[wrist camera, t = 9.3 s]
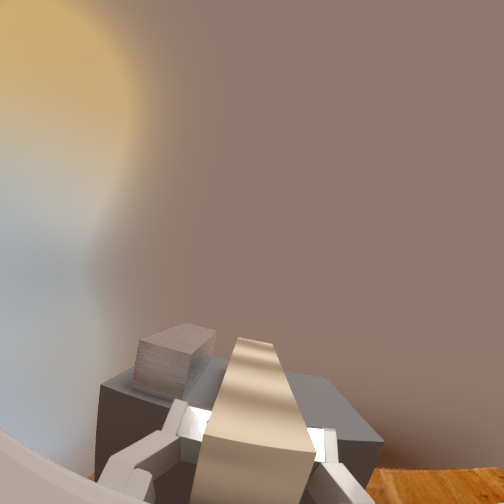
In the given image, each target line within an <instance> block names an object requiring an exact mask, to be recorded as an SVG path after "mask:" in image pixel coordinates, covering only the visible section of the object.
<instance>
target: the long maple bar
mask: <svg viewBox="0 0 504 504" xmlns="http://www.w3.org/2000/svg"><path fill="white" fill-rule="evenodd" d="M316 456H317V450H316V448H315V446H314V443H313V441H312V439H311V436H310V434H309V431H308V429H307V427H306V424H305V422H304V420H303V417H302V415H301V412H300V410H299V408H298V405H297V403H296V400H295V398H294V396H293V393H292V391H291V388H290V386H289V384H288V381H287V379H286V376H285V374H284V372H283V369H282V367H281V364H280V362H279V360H278V357H277V355H276V352H275V350H274V347H273V345H272V344H268V343H264V342H259V341H254V340H249V339H244V338H240V337H238V339H237V342H236V345H235V348H234V350H233V353H232V356H231V359H230V362H229V365H228V367H227V370H226V373H225V376H224V379H223V381H222V384H221V387H220V390H219V393H218V395H217V398H216V401H215V404H214V406H213V409H212V412H211V415H210V417H209V420H208V423H207V426H206V428H205V431H204V434H203V439H202V444H201V448H200V453H199V458H198V463H197V468H196V472H195V477H194V482H193V487H192V492H191V497H190V502H189V504H299V502H300V499H301V496H302V494H303V491H304V489H305V486H306V483H307V481H308V478H309V475H310V473H311V470H312V467H313V464H314V461H315V459H316Z"/></svg>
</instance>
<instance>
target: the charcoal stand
mask: <svg viewBox="0 0 504 504" xmlns="http://www.w3.org/2000/svg"><path fill="white" fill-rule="evenodd" d="M229 362H230V360H228V359H224V358H220V357H216V356H212V357H211V362H210V364H209V365H208V367H207V368H206V370H205V371H204V372H203V374H202V375H201V377H200V378H199V380H198V381H197V383H196V384H195V386H194V387H193V389H192V390H191V391H190V393H189V394H188V396H187V397H186V399H185V400H184V401H185V402H189V403H192V404H196V405H199V406H203V407H206V408H210V409H213V406H214V404H215V401H216V398H217V395H218V393H219V390H220V387H221V384H222V381H223V379H224V376H225V373H226V370H227V367H228V365H229ZM134 367H135V366H134ZM134 367H132V368H130V369H128V370H127V371H125V372H123V373H121V374H119V375H117V376H116V377H114V378H112V379H110V380H108V381H106V382H104V383H103V384H101V386H100V395H99V405H98V418H97V430H96V447H95V449H96V450H95V482H96V483H97V482H98V480H99V478H100V476H101V474H102V472H103V470H104V468H105V466H106V464H107V462H108V460H109V458H110V456H112V455H114V454H116V453H118V452H120V451H121V450H123V449H125V448H127V447H129V446H131V445H132V444H134V443H136V442H138V441H139V440H141V439H143V438H145V437H146V436H148V435H150V434H151V433H153V432H155V431H157V430H159V431H161V430H162V428H163V425H164V423H165V420H166V418H167V415H168V413H169V411H170V408H171V406H172V403H173V402H171V401H168V400H164V399H161V398H158V397H154V396H151V395H148V394H145V393H142V392H139V391H136V390H133V389H131V387H132V380H133V374H134ZM283 372H284V374H285V376H286V379H287V381H288V384H289V386H290V388H291V391H292V393H293V396H294V398H295V400H296V403H297V405H298V408H299V410H300V412H301V415H302V417H303V420H304V422H305V424H306V426H314V427H321V428H332V429H335V430H336V435H337V447H338V460H339V463H342V464H343V465H344V466H345V467H346V468H347V470H348V471H349V472H350V473H351V475H352V476H353V477H354V478H355V479H356V481H357V482H358V483H359V484H360V485H361V487H362V488H363V489H364V490H365V489H366V486H367V484H368V482H369V480H370V477H371V475H372V473H373V470H374V468H375V465H376V463H377V460H378V458H379V455H380V453H381V450H382V447H383V445H384V440H383V439H382V438H381V437H380V436H379V435H378V434H377V433H376V432H375V431H374V430H373V429H372V428H371V426H370V425H369V424H368V423H367V422H366V421H365V420H364V419H363V418H362V417H361V416H360V415H359V414H358V412H357V411H356V410H355V409H354V408H353V407H352V406H351V405H350V404H349V403H348V401H347V400H346V399H345V398H344V397H343V396H342V395H341V394H340V393H339V392H338V390H337V389H336V388H335V387H334V386H333V385H332V384H331V383H330V382H329V381H328V379H327V378H324V377H318V376H312V375H306V374H299V373H293V372H288V371H283ZM196 468H197V465H196V464H192V463H188V462H184V461H180V460H179V462H178V463H177V464H176V465H174V466H173V467H172V468H170V469H169V470H168V471H166V472H165V473H164V474H162V475H161V476H160V477H158V478H157V479H156V480H154V481H153V484H154V490H155V496H156V501H155V504H189V502H190V497H191V492H192V487H193V482H194V477H195V472H196ZM299 504H316V503H315V501H314V499H313V498H312V496H311V494H310V493H309V491H308V489H307V487H306V486H305V489H304V491H303V494H302V496H301V499H300V502H299Z"/></svg>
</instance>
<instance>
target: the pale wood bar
mask: <svg viewBox="0 0 504 504" xmlns="http://www.w3.org/2000/svg"><path fill="white" fill-rule="evenodd" d="M216 334H217V331H216V330H211V329H208V328H203V327H199V326H195V325H191V324H187V323H184V324H181V325H178V326H176V327H173V328H170V329H167V330H165V331H162V332H159V333H157V334H154V335H151V336H148V337H145V338H143V339H140V340H139V345H138V350H137V355H136V361H135V367H134V374H133V380H132V387H131V389H133V390H136V391H139V392H142V393H145V394H148V395H151V396H154V397H158V398H161V399H164V400H168V401H171V402H173V401H174V400H175V399H178V400H182V401H184V400H185V399H186V397H187V396H188V394H189V393H190V391H191V390H192V389H193V387H194V386H195V384H196V383H197V381H198V380H199V378H200V377H201V375H202V374H203V372H204V371H205V370H206V368H207V367H208V365H209V364H210V362H211V357H212V353H213V348H214V343H215V339H216Z"/></svg>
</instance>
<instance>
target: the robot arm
mask: <svg viewBox="0 0 504 504" xmlns="http://www.w3.org/2000/svg"><path fill="white" fill-rule="evenodd" d="M211 412H212V409H210V408H206V407H203V406H199V405H196V404H192V403H189V402H185V401H182V400H178V399H175V400H174V401H173V403H172V406H171V408H170V411H169V413H168V415H167V418H166V420H165V423H164V425H163V428H162V430H161V431H159V430H157V431H155V432H153V433H151V434H150V435H148V436H146V437H145V438H143V439H141V440H139V441H138V442H136V443H134V444H132V445H131V446H129V447H127V448H125V449H123V450H121V451H120V452H118V453H116V454H114V455H112V456H110V458H109V460H108V462H107V464H106V466H105V468H104V470H103V472H102V474H101V476H100V478H99V480H98V482H97V483H96V482H94V481H91V480H89V479H87V478H84V477H83V476H81V475H78V474H76V473H74V472H72V471H70V470H69V469H67V468H64V467H63V466H61V465H59V464H57V463H55V462H53V461H52V460H50V459H48V458H46V457H44V456H43V455H41V454H39V453H38V452H36V451H34V450H33V449H31V448H29V447H28V446H26V445H25V444H23V443H21V442H20V441H18V440H17V439H15V438H14V437H12V436H11V435H9V434H8V433H6V432H5V431H3V430H2V429H1V428H0V504H155V501H156V496H155V490H154V484H153V481H154V480H156V479H157V478H158V477H160V476H161V475H162V474H164V473H165V472H166V471H168V470H169V469H170V468H172V467H173V466H174V465H176V464H177V463H178V462H179V460H180V461H184V462H188V463H192V464H196V465H197V463H198V458H199V453H200V448H201V444H202V439H203V434H204V431H205V428H206V426H207V423H208V420H209V417H210V415H211ZM306 427H307V429H308V431H309V434H310V436H311V439H312V441H313V443H314V446H315V448H316V450H317V456H316V459H315V461H314V464H313V467H312V470H311V473H310V475H309V478H308V481H307V483H306V487H307V489H308V491H309V493H310V494H311V496H312V498H313V499H314V501H315V503H316V504H375V502H374V501H373V499H372V498H371V497H370V496H369V495H368V494H367V492H366V491H365V490H364V489H363V488H362V487H361V485H360V484H359V483H358V482H357V481H356V479H355V478H354V477H353V476H352V475H351V473H350V472H349V471H348V470H347V468H346V467H345V466H344V465H343V464H342V463H339V460H338V447H337V435H336V430H335V429H332V428H321V427H314V426H306ZM499 504H504V503H499Z"/></svg>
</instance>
